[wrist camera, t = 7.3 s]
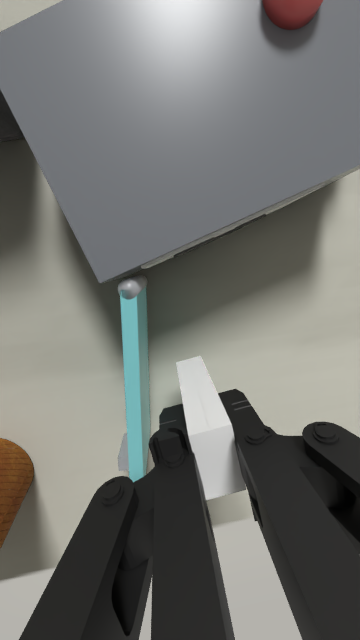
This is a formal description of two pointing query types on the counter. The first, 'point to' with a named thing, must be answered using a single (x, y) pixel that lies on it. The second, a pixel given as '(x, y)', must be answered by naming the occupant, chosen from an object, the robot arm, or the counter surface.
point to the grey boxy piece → (183, 115)
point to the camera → (8, 122)
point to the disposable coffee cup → (12, 483)
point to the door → (135, 376)
